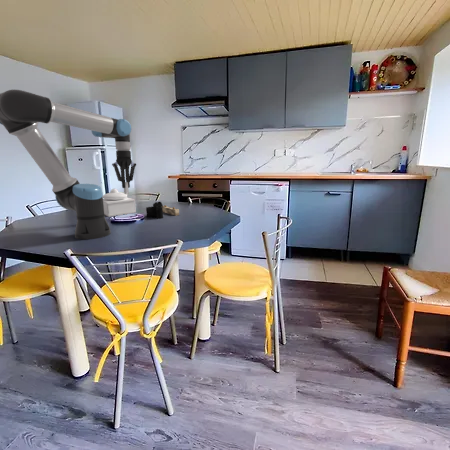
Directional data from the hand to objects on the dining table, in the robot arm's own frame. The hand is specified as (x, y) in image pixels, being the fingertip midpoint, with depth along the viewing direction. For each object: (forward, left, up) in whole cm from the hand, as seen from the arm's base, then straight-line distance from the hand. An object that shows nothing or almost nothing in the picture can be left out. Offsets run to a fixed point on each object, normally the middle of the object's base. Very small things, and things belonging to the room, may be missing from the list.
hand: (126, 193), depth 157 cm
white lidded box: (+27, -4, -15) cm, 31 cm away
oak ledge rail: (0, -27, -15) cm, 31 cm away
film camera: (-2, -15, -15) cm, 22 cm away
